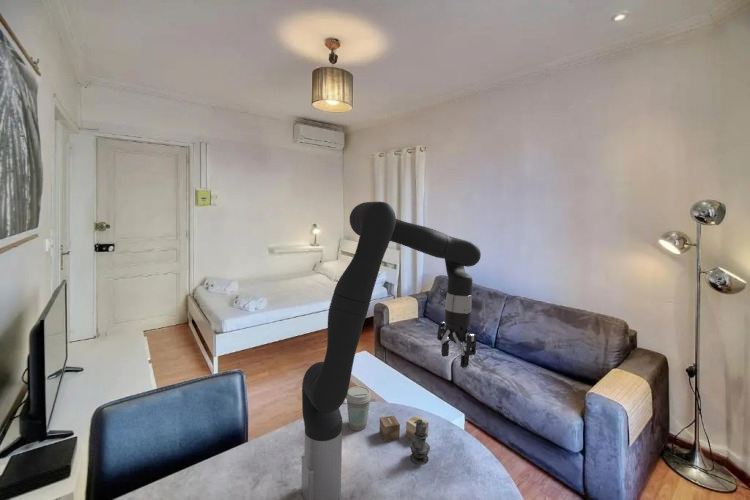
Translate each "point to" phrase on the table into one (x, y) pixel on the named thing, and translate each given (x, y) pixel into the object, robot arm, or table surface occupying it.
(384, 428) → the walnut block digit
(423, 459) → the black chess piece
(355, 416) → the coffee cup
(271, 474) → the table surface
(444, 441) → the table surface
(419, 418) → the beech block digit
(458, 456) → the table surface
